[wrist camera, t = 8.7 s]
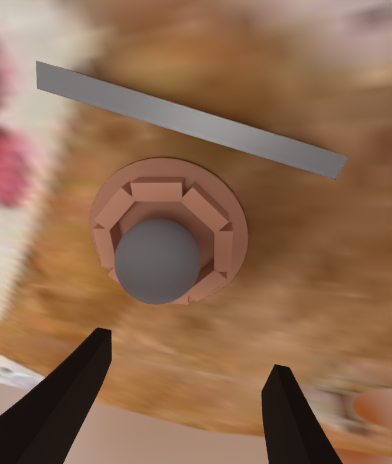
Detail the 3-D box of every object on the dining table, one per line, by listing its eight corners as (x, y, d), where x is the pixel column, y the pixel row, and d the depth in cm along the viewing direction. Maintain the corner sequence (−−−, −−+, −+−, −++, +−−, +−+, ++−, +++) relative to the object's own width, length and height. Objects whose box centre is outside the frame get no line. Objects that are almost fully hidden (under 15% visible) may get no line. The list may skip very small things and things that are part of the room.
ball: (218, 240, 18) (217, 289, 13) (171, 282, 20) (155, 337, 15) (162, 190, 16) (136, 223, 12) (117, 239, 19) (80, 285, 14)
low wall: (325, 148, 15) (348, 156, 12) (316, 167, 15) (335, 179, 13) (71, 70, 14) (36, 60, 12) (70, 93, 15) (36, 88, 12)
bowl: (281, 240, 18) (288, 254, 16) (175, 318, 22) (171, 336, 21) (157, 115, 15) (148, 115, 13) (66, 235, 20) (50, 247, 18)
